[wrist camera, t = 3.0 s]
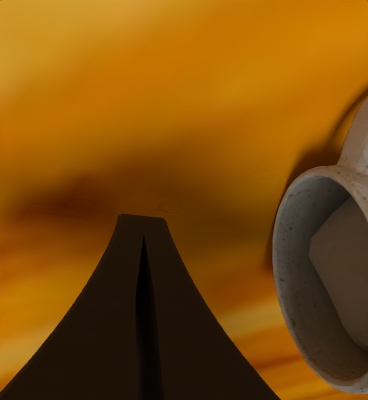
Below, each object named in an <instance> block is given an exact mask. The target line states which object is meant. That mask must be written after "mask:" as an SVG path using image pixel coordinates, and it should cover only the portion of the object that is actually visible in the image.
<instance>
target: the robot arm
mask: <svg viewBox="0 0 368 400" xmlns="http://www.w3.org/2000/svg"><path fill="white" fill-rule="evenodd" d="M0 400H281V399H280V398H279V397H278V396H277V395H276V394H275V393H274V392H273V391H272V389H271V388H270V387H269V386H268V385H267V384H266V383H265V381H264V380H263V379H262V378H261V377H260V375H259V374H258V373H257V372H256V371H255V369H254V368H253V367H252V366H251V365H250V363H249V362H248V361H247V360H246V359H245V357H244V356H243V355H242V354H241V353H240V351H239V350H238V349H237V347H236V346H235V345H234V343H233V342H232V341H231V339H230V338H229V337H228V335H227V334H226V333H225V331H224V330H223V328H222V327H221V325H220V324H219V323H218V321H217V320H216V318H215V317H214V315H213V314H212V312H211V311H210V309H209V307H208V306H207V304H206V303H205V301H204V299H203V298H202V296H201V294H200V293H199V291H198V289H197V288H196V286H195V284H194V282H193V280H192V279H191V277H190V275H189V273H188V271H187V269H186V267H185V265H184V263H183V261H182V259H181V257H180V255H179V253H178V251H177V249H176V246H175V244H174V242H173V239H172V237H171V234H170V232H169V229H168V226H167V223H166V221H165V220H164V219H163V218H157V217H147V216H138V215H128V214H121V215H120V216H118V220H117V224H116V227H115V230H114V233H113V235H112V238H111V240H110V242H109V244H108V247H107V249H106V250H105V252H104V254H103V256H102V258H101V260H100V262H99V264H98V266H97V267H96V269H95V271H94V272H93V274H92V276H91V277H90V279H89V280H88V282H87V284H86V285H85V287H84V289H83V290H82V292H81V293H80V295H79V296H78V298H77V299H76V301H75V302H74V303H73V305H72V306H71V308H70V309H69V311H68V312H67V313H66V315H65V316H64V317H63V319H62V320H61V321H60V323H59V324H58V325H57V327H56V328H55V329H54V330H53V332H52V333H51V334H50V335H49V337H48V338H47V339H46V340H45V342H44V343H43V344H42V346H41V347H40V348H39V349H38V350H37V352H36V353H35V354H34V355H33V356H32V358H31V359H30V360H29V361H28V362H27V363H26V365H25V366H24V367H23V368H22V369H21V370H20V371H19V372H18V373H17V374H16V376H15V377H14V378H13V379H12V380H11V381H10V382H9V383H8V384H7V386H6V387H5V388H4V389H3V390H2V391H1V392H0Z"/></svg>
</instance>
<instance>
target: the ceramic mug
mask: <svg viewBox="0 0 368 400" xmlns="http://www.w3.org/2000/svg"><path fill="white" fill-rule="evenodd" d="M272 247H273V252H272V262H273V275H274V283H275V286H276V290H277V295H278V301H279V304H280V306H281V309H282V314H283V316H284V319H285V322H286V325H287V328H288V330H289V332H290V334H291V336H292V338H293V340H294V342H295V344H296V346H297V348H298V349H299V351H300V352H301V354H302V356H303V358H304V359H305V361H306V362H307V364H308V365H309V367H310V368H311V369H312V370H313V371H314V372H315V373H316V374H317V375H318V376H319V377H321V378H322V379H323V380H324V381H325V382H327V383H328V384H330V385H331V386H332V387H334V388H336V389H338V390H340V391H344V392H347V393H360V394H366V393H368V97H367V98H366V100H365V101H364V102H363V103H362V104H361V106H360V107H359V109H358V111H357V113H356V114H355V116H354V119H353V121H352V123H351V126H350V128H349V131H348V133H347V136H346V138H345V141H344V143H343V147H342V150H341V154H340V158H339V160H338V163H337V165H333V166H318V167H315V168H312V169H309V170H307V171H305V172H303V173H302V174H300V175H299V176H298V177H297V178H296V179H295V180H294V181H292V183H291V184H290V186H289V188H288V189H287V191H286V192H285V194H284V196H283V199H282V201H281V204H280V206H279V209H278V212H277V216H276V220H275V225H274V233H273V239H272Z"/></svg>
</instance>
